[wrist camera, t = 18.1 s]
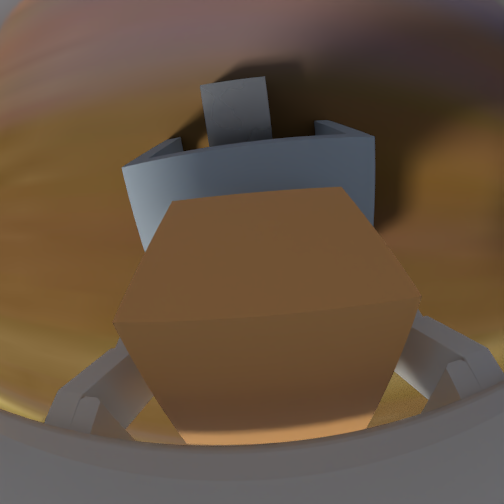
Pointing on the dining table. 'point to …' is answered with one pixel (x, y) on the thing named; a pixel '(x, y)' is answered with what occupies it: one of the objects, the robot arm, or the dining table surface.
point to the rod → (236, 111)
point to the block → (267, 316)
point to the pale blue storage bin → (251, 171)
